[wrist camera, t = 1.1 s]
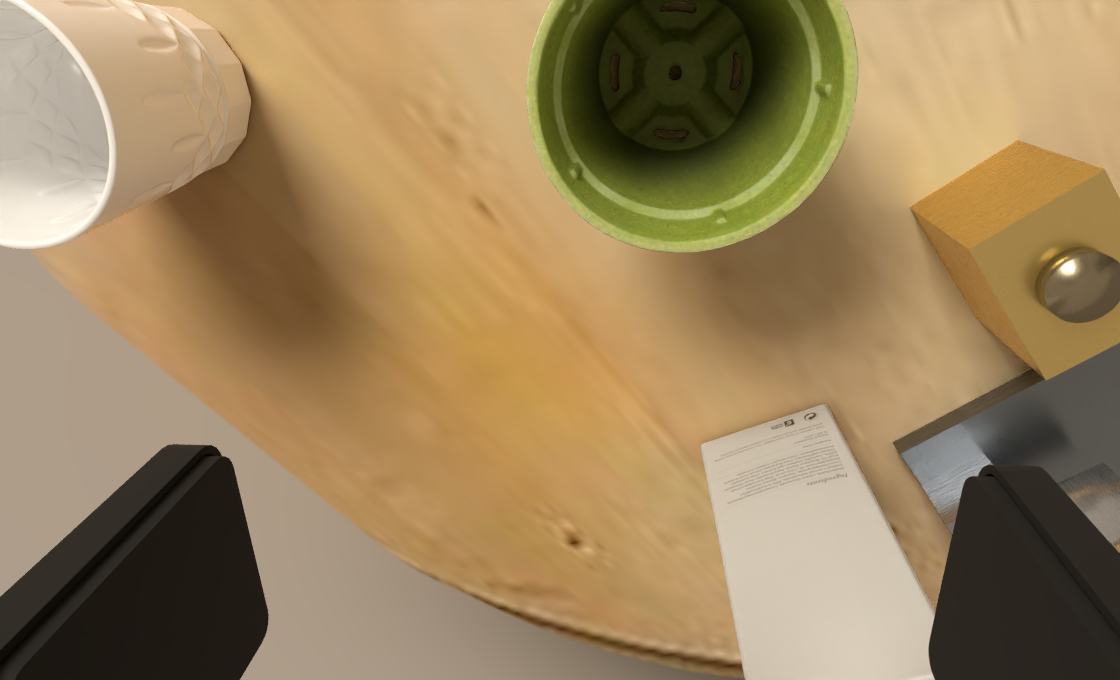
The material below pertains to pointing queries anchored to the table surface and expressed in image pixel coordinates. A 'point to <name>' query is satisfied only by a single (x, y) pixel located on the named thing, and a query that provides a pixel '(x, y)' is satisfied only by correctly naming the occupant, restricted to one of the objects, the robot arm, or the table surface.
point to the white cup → (107, 112)
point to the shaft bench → (1032, 439)
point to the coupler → (1033, 252)
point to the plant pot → (690, 113)
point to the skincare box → (812, 558)
